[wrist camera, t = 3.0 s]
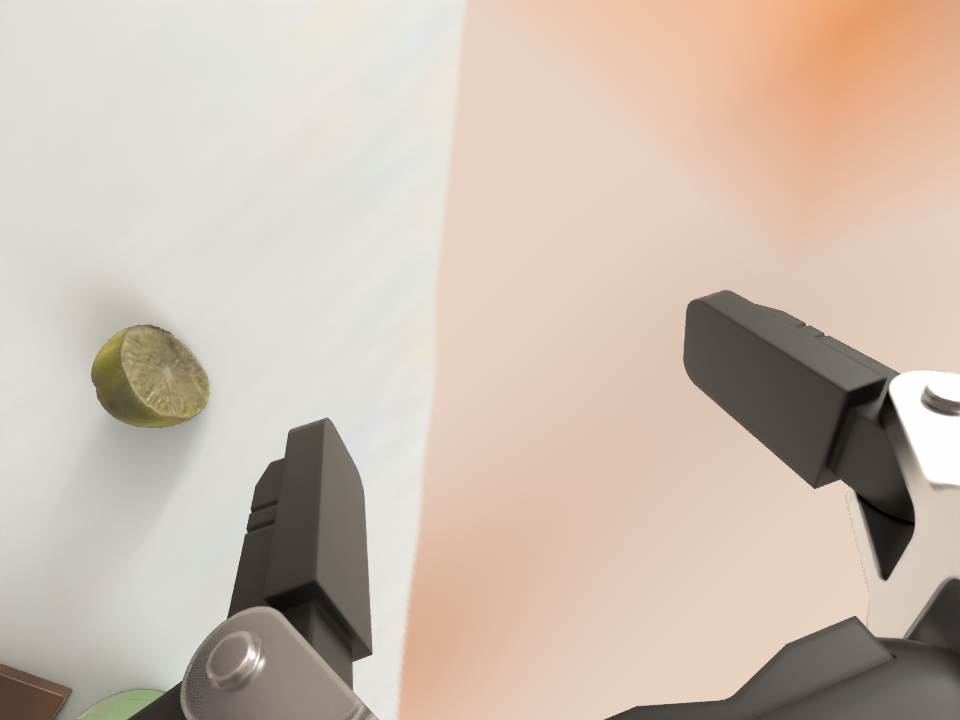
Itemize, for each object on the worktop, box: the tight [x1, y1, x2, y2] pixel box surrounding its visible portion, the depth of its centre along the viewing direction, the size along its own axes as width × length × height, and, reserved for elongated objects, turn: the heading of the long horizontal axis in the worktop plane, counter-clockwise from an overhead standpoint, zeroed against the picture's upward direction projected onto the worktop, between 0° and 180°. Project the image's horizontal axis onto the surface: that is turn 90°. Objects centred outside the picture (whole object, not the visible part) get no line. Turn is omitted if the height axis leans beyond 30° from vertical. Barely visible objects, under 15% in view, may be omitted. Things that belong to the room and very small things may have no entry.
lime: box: [91, 325, 210, 428], centre depth 22 cm, size 4×5×5 cm
